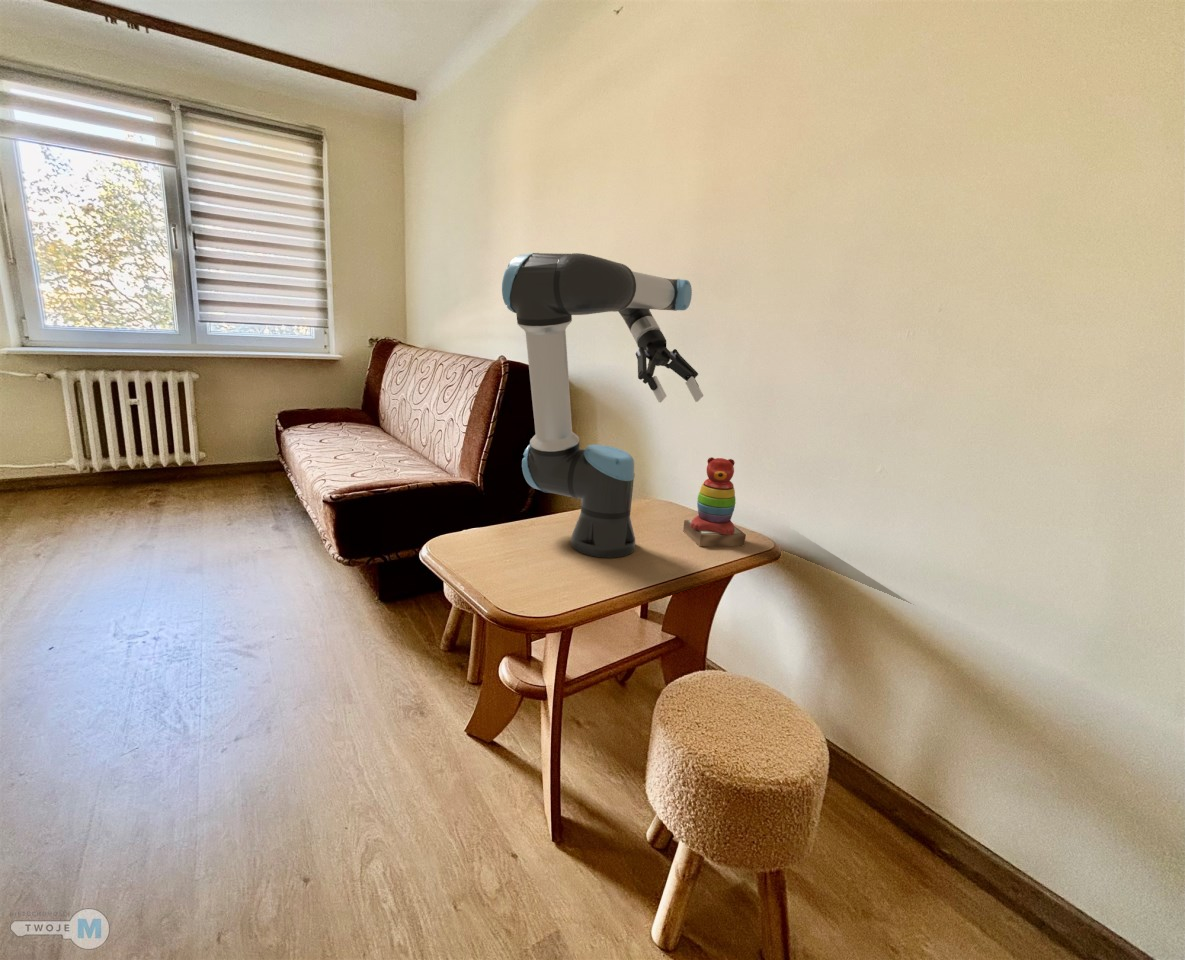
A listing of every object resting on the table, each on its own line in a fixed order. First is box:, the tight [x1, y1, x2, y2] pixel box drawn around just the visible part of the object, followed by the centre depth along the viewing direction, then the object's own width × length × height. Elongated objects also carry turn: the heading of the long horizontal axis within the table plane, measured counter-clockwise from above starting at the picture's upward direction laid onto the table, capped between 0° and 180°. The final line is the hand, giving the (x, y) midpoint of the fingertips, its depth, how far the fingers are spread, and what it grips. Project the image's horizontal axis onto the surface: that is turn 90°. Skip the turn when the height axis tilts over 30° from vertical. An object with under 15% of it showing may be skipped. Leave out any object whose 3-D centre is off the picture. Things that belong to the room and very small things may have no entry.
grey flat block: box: [682, 519, 746, 548], centre depth 140 cm, size 12×11×3 cm
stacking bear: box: [691, 457, 736, 535], centre depth 137 cm, size 11×10×18 cm
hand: (681, 399), depth 143 cm, fingers open, 13 cm apart
